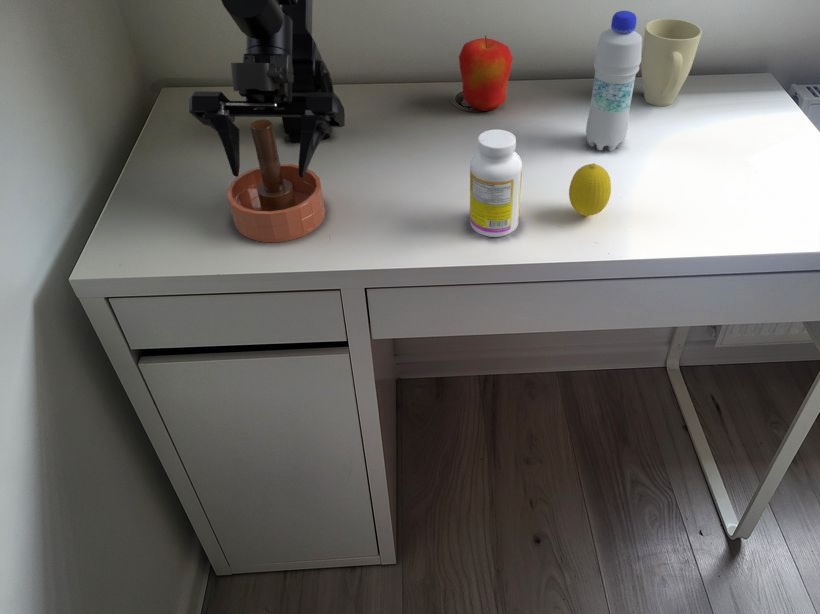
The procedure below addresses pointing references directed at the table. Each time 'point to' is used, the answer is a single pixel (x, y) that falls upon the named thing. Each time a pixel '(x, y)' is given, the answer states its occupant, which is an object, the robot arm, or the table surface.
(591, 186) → the lemon
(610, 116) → the bottle
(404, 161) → the table surface
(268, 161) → the pestle
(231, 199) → the bowl
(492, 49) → the apple
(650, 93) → the mug
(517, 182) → the supplement bottle
